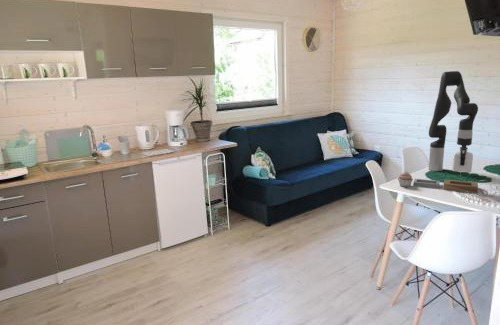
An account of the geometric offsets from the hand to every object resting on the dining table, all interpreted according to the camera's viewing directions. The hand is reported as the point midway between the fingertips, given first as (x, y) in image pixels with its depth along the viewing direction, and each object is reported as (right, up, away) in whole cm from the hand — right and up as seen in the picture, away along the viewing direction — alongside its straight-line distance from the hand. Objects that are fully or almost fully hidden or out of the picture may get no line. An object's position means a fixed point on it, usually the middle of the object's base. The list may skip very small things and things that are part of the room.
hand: (462, 164), depth 219 cm
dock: (+1, -15, +4) cm, 16 cm away
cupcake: (-29, -14, +15) cm, 35 cm away
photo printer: (0, -5, +1) cm, 5 cm away
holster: (-15, -14, +13) cm, 25 cm away
